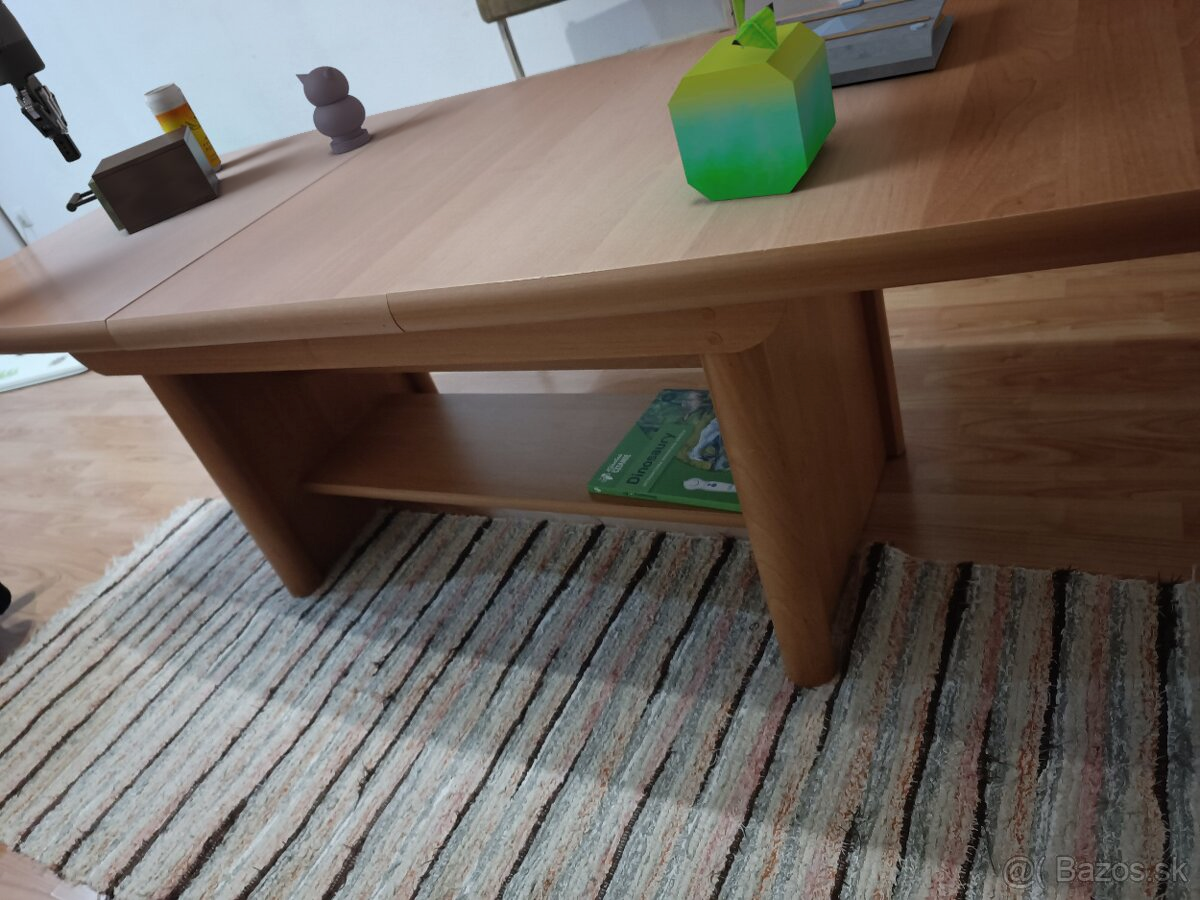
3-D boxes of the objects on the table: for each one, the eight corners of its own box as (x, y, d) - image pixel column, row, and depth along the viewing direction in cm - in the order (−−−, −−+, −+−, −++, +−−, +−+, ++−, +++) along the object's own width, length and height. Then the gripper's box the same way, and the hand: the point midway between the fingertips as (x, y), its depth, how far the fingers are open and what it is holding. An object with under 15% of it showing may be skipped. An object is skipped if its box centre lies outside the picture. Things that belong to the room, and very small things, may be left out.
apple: (692, 203, 78) (648, 28, 69) (727, 157, 84) (691, -9, 76) (810, 190, 72) (779, -1, 64) (839, 142, 79) (814, -38, 70)
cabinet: (129, 234, 135) (90, 176, 130) (136, 214, 146) (101, 159, 140) (217, 197, 137) (183, 138, 132) (219, 180, 148) (187, 124, 142)
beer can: (226, 168, 153) (177, 82, 145) (193, 182, 152) (142, 97, 143) (221, 163, 158) (174, 80, 150) (189, 177, 157) (140, 94, 148)
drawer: (86, 244, 135) (53, 197, 130) (96, 225, 144) (66, 181, 139) (201, 197, 137) (172, 149, 133) (203, 181, 146) (176, 136, 142)
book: (730, 110, 95) (720, 63, 92) (770, 58, 106) (763, 15, 103) (933, 76, 85) (929, 22, 82) (954, 22, 96) (952, -27, 93)
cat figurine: (386, 131, 138) (352, 53, 131) (356, 152, 133) (319, 72, 126) (349, 137, 143) (314, 63, 136) (318, 158, 138) (280, 81, 131)
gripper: (-15, 49, 130) (59, 160, 140) (-38, 58, 120) (43, 178, 129) (34, 31, 131) (104, 143, 141) (16, 39, 121) (92, 159, 130)
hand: (75, 159), depth 135 cm, fingers closed
